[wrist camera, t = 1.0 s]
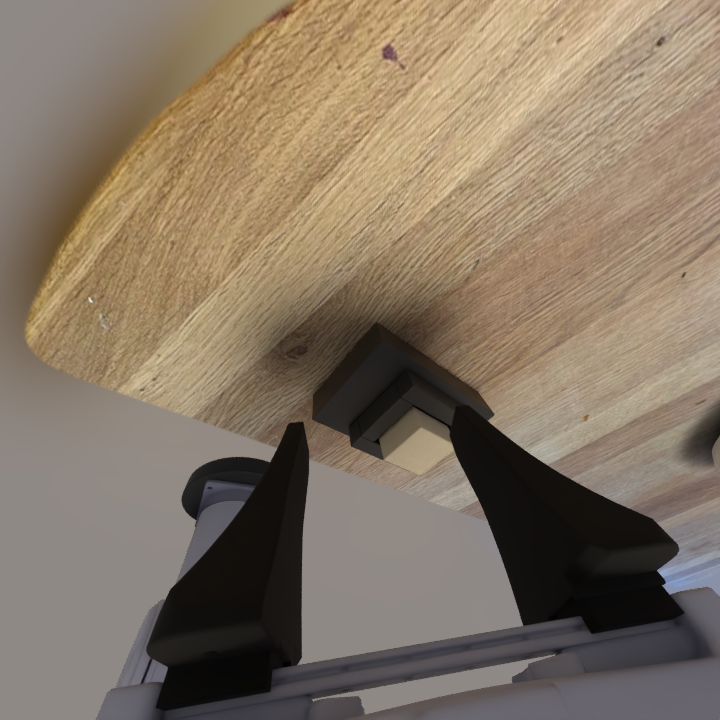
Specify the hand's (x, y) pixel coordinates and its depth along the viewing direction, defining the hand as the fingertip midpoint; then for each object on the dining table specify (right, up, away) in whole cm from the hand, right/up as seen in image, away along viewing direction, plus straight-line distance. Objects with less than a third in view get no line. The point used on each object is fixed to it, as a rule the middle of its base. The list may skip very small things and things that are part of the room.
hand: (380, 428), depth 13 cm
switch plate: (+2, 0, +10) cm, 10 cm away
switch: (+3, -2, +7) cm, 8 cm away
